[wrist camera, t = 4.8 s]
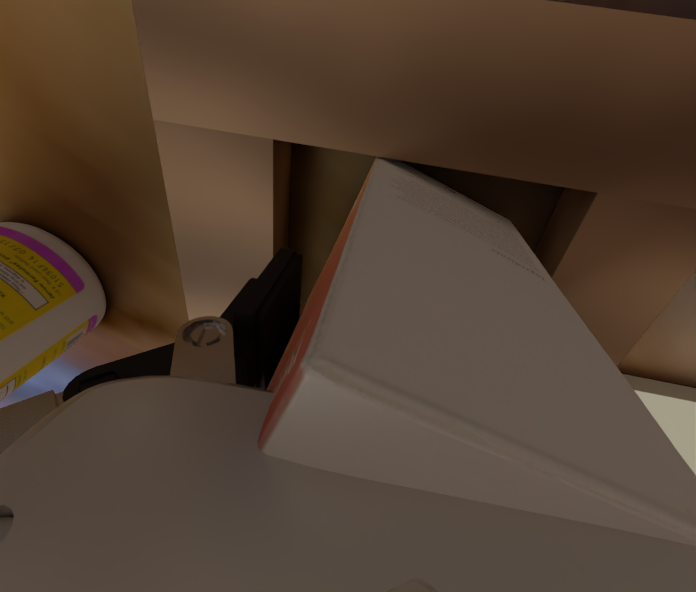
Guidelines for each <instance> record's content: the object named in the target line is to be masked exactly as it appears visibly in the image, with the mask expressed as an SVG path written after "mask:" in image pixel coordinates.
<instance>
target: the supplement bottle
mask: <svg viewBox="0 0 696 592" xmlns="http://www.w3.org/2000/svg"><path fill="white" fill-rule="evenodd" d="M105 311H106V299H105V294H104V290H103V288H102V285H101V283H100V281H99V279H98V277H97V275H96V274H95V272H94V271H93V269H92V268H91V267H90V265H89V264H88V263H87V262H86V261H85V260H84V258H83V257H82V256H81V255H80V254H79V253H77V252H76V251H75V250H74V249H73V248H72V247H71V246H69V245H68V244H67V243H65V242H64V241H62V240H61V239H59V238H57V237H56V236H54V235H52V234H50V233H48V232H46V231H44V230H42V229H40V228H37V227H34V226H31V225H27V224H23V223H15V222H0V401H1V400H2V399H4V398H5V397H6V396H8V395H9V394H10V393H12V392H13V391H14V390H15V389H17V388H18V387H19V386H21V385H22V384H23V383H25V382H26V381H27V380H28V379H30V378H31V377H32V376H34V375H35V374H36V373H38V372H39V371H40V370H42V369H43V368H44V367H45V366H47V365H48V364H49V363H51V362H52V361H53V360H54V359H56V358H57V357H58V356H60V355H61V354H62V353H63V352H65V351H66V350H67V349H69V348H70V347H71V346H72V345H74V344H75V343H76V342H78V341H79V340H80V339H81V338H83V337H84V336H85V335H87V334H88V333H89V332H90V331H91V330H92V329H94V328H95V327H96V326H97V325H98V324H99V323H100V321H101V320H102V319H103V316H104V314H105Z"/></svg>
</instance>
